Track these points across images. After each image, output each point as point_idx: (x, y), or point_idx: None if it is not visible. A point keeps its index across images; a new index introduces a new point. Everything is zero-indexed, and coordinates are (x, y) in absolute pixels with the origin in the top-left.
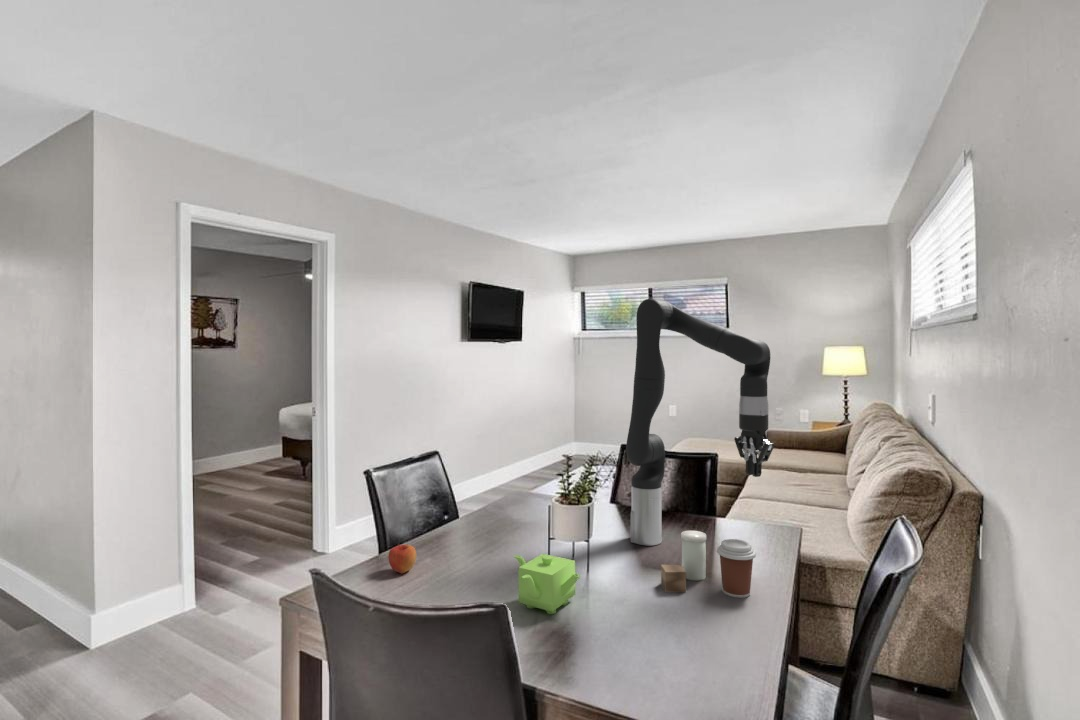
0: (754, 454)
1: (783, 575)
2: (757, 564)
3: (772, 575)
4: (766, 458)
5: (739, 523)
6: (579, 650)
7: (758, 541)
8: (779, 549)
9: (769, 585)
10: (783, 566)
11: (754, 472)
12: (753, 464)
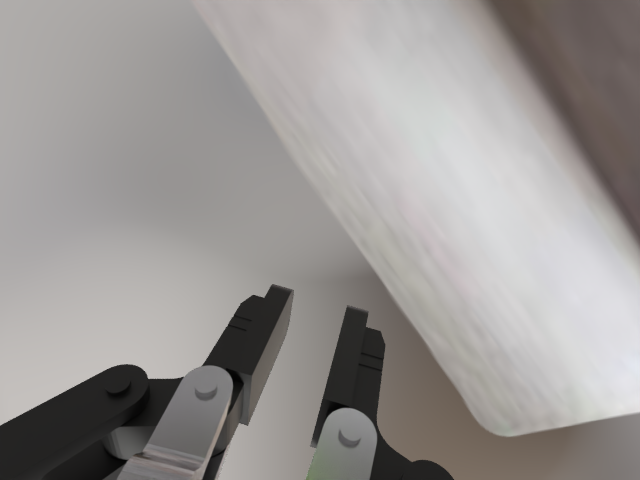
0: (144, 454)
1: (293, 132)
2: (387, 144)
3: (308, 105)
4: (100, 439)
5: (629, 392)
6: None
7: (497, 302)
8: (419, 287)
9: (261, 27)
10: (336, 189)
11: (262, 304)
12: (243, 360)
